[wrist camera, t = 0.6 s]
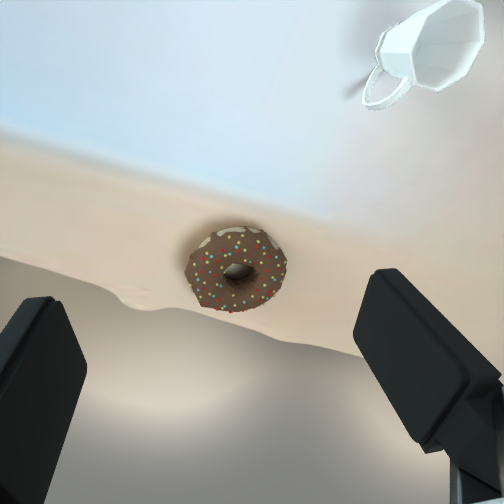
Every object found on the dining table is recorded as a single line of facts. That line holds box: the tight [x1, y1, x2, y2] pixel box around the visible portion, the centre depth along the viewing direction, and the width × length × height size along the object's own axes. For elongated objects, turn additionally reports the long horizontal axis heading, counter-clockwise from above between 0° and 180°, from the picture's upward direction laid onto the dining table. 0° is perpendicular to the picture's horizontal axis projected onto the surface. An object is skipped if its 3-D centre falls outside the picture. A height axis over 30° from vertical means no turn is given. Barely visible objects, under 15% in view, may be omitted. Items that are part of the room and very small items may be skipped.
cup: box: [362, 0, 485, 110], centre depth 29 cm, size 7×10×8 cm
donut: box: [185, 226, 287, 313], centre depth 41 cm, size 14×14×5 cm
